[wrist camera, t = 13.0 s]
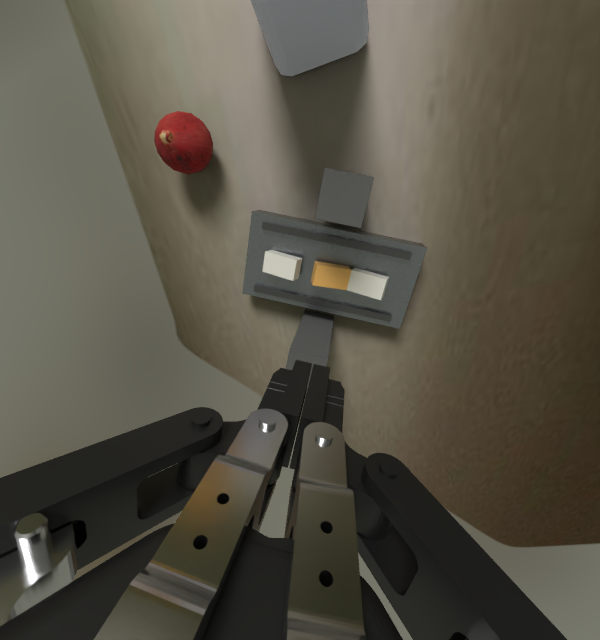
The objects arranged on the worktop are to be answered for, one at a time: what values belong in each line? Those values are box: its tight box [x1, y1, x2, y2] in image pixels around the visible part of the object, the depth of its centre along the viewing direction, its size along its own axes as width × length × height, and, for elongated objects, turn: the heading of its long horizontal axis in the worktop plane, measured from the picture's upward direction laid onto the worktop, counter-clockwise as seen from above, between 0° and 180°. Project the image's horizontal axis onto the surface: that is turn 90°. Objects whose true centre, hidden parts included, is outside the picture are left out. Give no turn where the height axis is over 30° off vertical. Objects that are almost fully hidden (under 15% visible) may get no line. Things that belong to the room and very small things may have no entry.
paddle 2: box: [347, 268, 389, 300], centre depth 37 cm, size 4×2×2 cm, turn 79°
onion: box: [155, 111, 213, 174], centre depth 35 cm, size 6×6×8 cm
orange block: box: [311, 261, 352, 290], centre depth 37 cm, size 4×2×2 cm, turn 80°
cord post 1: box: [286, 310, 334, 389], centre depth 39 cm, size 4×4×12 cm
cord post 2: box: [315, 168, 374, 228], centre depth 32 cm, size 4×4×12 cm
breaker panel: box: [243, 210, 427, 329], centre depth 39 cm, size 20×10×4 cm, turn 79°
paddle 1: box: [262, 250, 302, 281], centre depth 37 cm, size 4×2×2 cm, turn 78°
